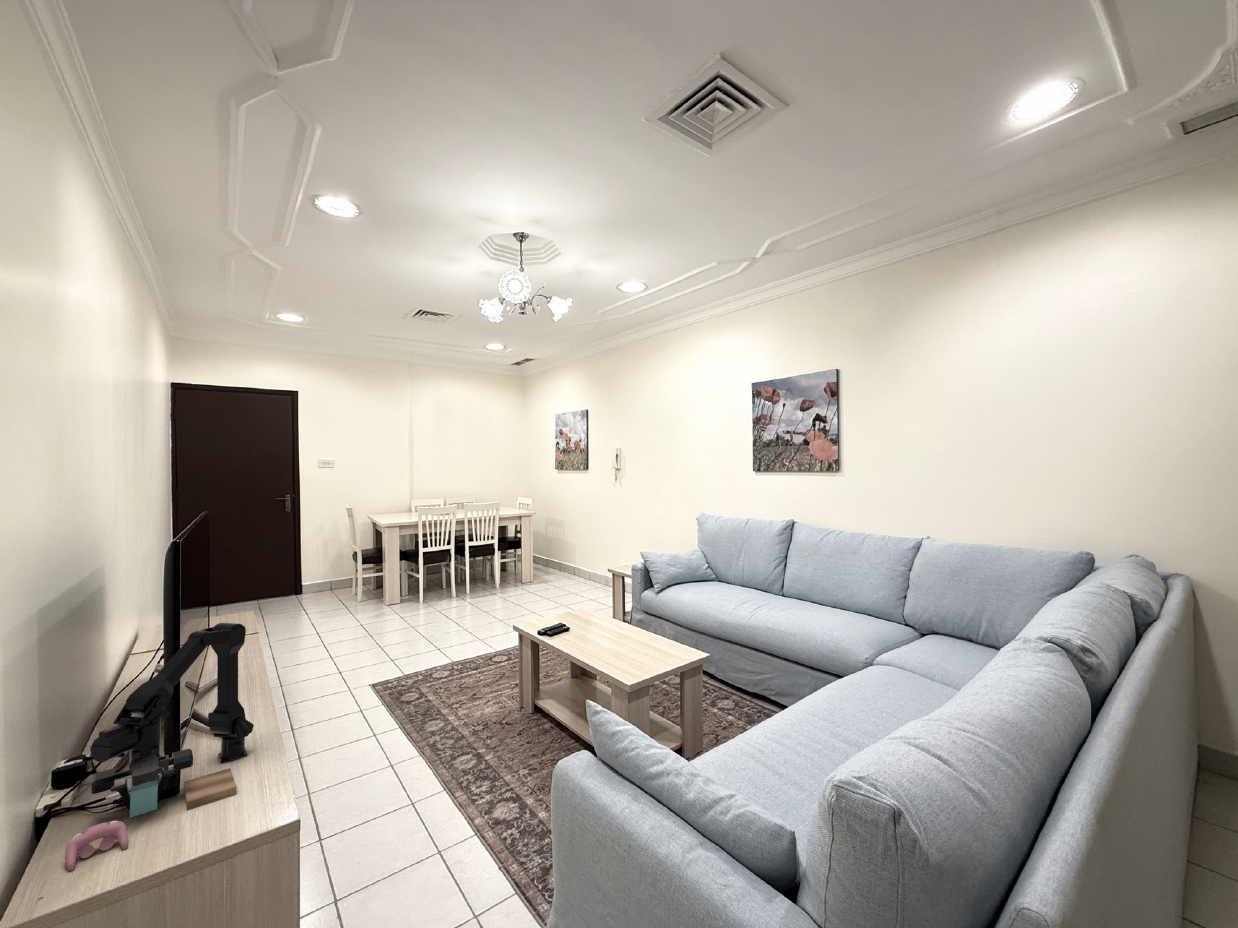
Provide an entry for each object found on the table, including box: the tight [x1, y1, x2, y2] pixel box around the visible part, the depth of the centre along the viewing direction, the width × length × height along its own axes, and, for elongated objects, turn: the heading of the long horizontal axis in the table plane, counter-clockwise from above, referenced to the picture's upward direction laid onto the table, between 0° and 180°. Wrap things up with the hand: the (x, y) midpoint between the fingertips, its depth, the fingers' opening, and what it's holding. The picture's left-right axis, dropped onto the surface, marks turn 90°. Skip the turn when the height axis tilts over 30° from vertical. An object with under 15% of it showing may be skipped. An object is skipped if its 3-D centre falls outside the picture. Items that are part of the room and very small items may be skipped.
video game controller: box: [64, 820, 129, 872], centre depth 117 cm, size 10×5×7 cm, turn 141°
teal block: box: [129, 779, 159, 819], centre depth 133 cm, size 5×5×6 cm
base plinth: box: [183, 767, 237, 811], centre depth 140 cm, size 12×10×2 cm
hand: (143, 804), depth 133 cm, fingers closed on teal block, 5 cm apart
